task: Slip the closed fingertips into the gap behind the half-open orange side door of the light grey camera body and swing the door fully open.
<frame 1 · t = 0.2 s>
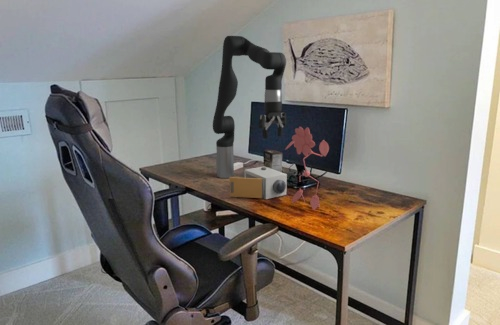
hand: (272, 137, 170), 28 cm above the table, tool pointing down, fingers open, 8 cm apart
camera body: (265, 191, 185), on the table
coffee box: (272, 181, 203), on the table
pink flower figure: (300, 208, 164), on the table
side door: (246, 187, 175), point 5 cm above the table, hinge at 45.0°
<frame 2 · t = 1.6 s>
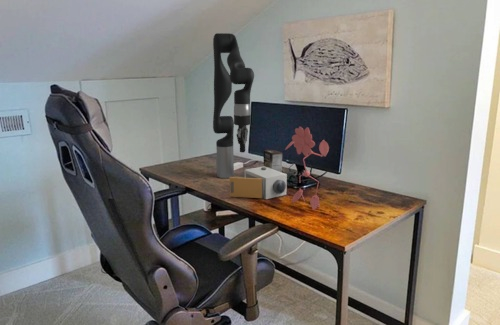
hand: (242, 152, 174), 21 cm above the table, tool pointing down, fingers closed
nothing on the table moved.
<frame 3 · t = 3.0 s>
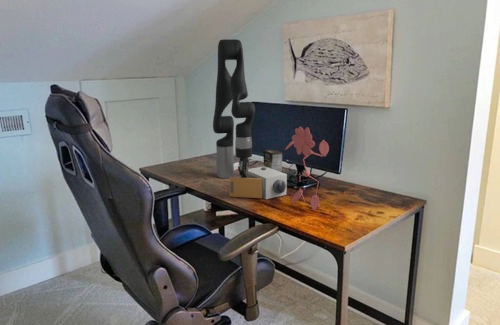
hand: (244, 183, 178), 6 cm above the table, tool pointing down, fingers closed
side door: (246, 187, 175), point 5 cm above the table, hinge at 45.4°, touching gripper
everything else where it was.
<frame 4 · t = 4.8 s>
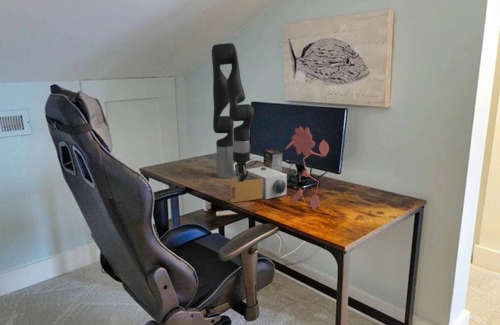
hand: (241, 187, 173), 6 cm above the table, tool pointing down, fingers closed
side door: (247, 190, 171), point 5 cm above the table, hinge at 77.8°, touching gripper
everything else where it was.
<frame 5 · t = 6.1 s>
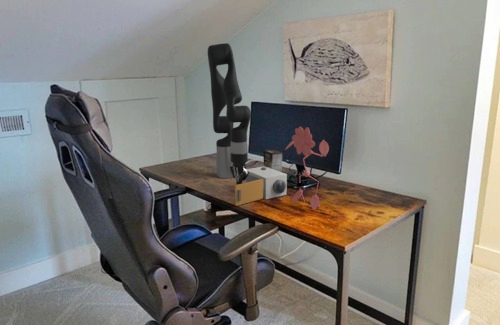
hand: (239, 188, 173), 5 cm above the table, tool pointing down, fingers closed
side door: (250, 192, 169), point 5 cm above the table, hinge at 95.5°
everything else where it was.
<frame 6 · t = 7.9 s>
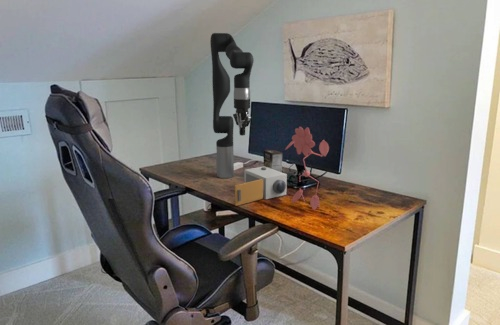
hand: (242, 135, 179), 28 cm above the table, tool pointing down, fingers closed
nothing on the table moved.
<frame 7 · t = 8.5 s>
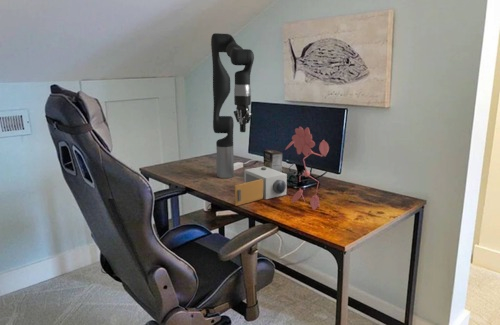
hand: (242, 132, 179), 29 cm above the table, tool pointing down, fingers closed
nothing on the table moved.
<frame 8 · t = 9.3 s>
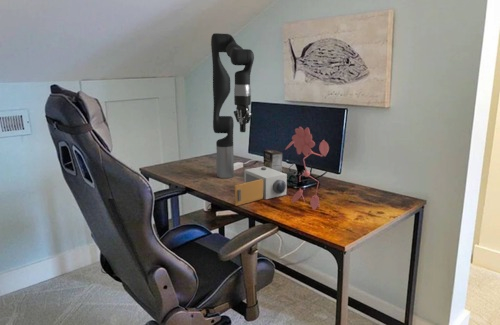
hand: (242, 132, 179), 29 cm above the table, tool pointing down, fingers closed
nothing on the table moved.
at the end: side door at +96° (first picture: +45°); coffee box moved 0.2 cm from its start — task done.
